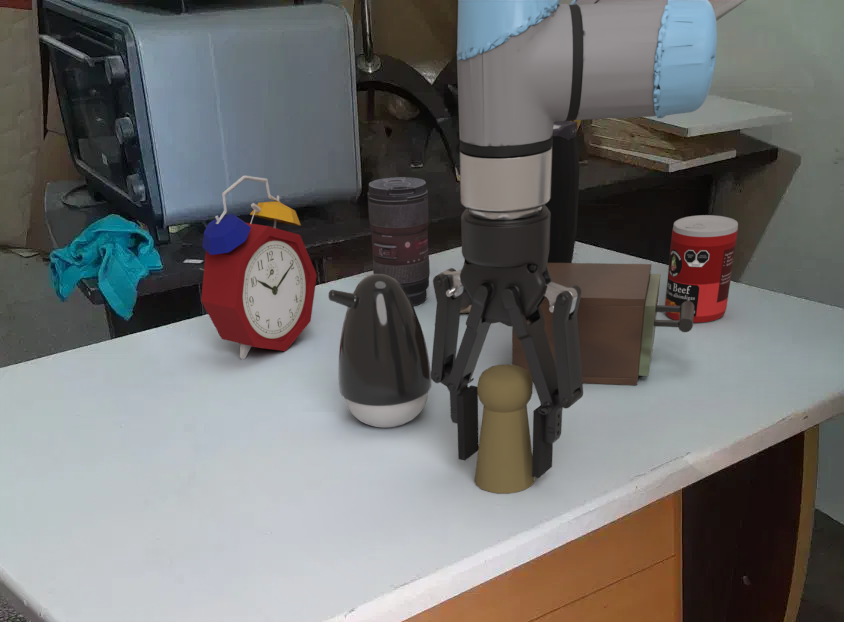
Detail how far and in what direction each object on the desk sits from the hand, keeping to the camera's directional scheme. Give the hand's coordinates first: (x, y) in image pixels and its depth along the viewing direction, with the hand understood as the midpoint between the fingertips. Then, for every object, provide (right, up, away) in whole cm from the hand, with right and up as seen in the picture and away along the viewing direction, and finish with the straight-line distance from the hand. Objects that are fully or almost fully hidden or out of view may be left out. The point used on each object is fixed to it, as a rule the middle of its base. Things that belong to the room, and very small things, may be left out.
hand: (504, 462), depth 100 cm
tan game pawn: (0, -1, +1) cm, 2 cm away
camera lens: (-11, +36, +45) cm, 58 cm away
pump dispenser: (-12, +9, +14) cm, 20 cm away
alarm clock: (-29, +25, +33) cm, 51 cm away
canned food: (+28, +29, +34) cm, 53 cm away
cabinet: (+11, +19, +23) cm, 32 cm away
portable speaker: (+10, +42, +50) cm, 66 cm away
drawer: (+15, +19, +22) cm, 33 cm away
